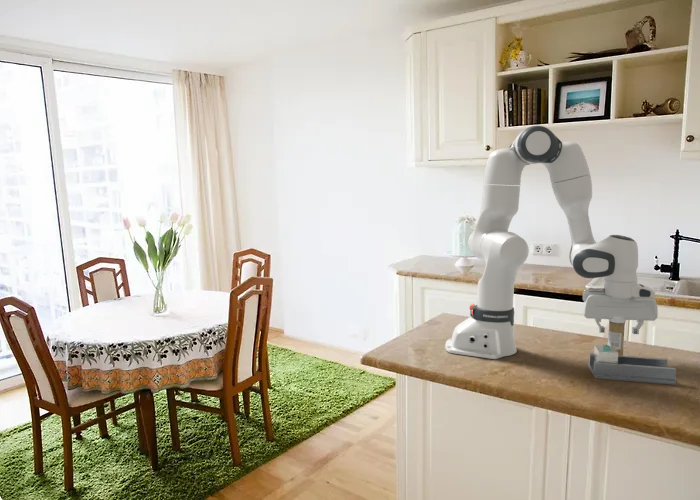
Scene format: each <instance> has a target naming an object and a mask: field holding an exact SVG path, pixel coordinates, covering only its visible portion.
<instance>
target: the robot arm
mask: <svg viewBox="0 0 700 500" xmlns="http://www.w3.org/2000/svg"><path fill="white" fill-rule="evenodd" d="M486 161H487V162H486V165H485V170H484V174H483V185H482V197H481V206H480V212H479V216H478V219H477V223H476V225H475V228H474V230H473V232H472V233H470V235H469V237H468V241H467V246H468V250H469V252H470V253H471V254H472V255H473V256H474V257H475V258H476V259H478V260H480V261H483V262H485V266H484V270H483V274H482V276H481V277H480V278H479V280H478V282H477V296H476V299H477V301H476V302H477V303H476V305H475V303H471V304H470V305H469V311H470V313H469V315H470V316H469V317H467V318H466V319H465V320H463V321H462V322H460V323H459V324H457V325H456V326H455V328H454V329H453V332H452V335H451V336H452V337H449V338H448V339H447V340H446V342H445V343H444V344H445V345H444V349H445V350H446V352H448V353H450V354H456V355H463V356H469V357H478V358H484V359H492V360H499V359H500V358H503V357H509V356H512V355H514V354H516V353H517V352H518V351H517V346H516V341H515V335H514V324H515V308H514V292H515V291H514V290H515V282H516V279H517V274H518V272H519V269H520V267H521V266H522V265H523V264H524V263H525V262H526V261H527V259H528V256H529V246H528V243H527V241H526V240H525V239H524V238H523V237H521V236H519V235H518V234H517V233H515V232H511V231H509V228H510V225H511V221H512V220H513V218H514V216H515V215H517V213H518V212H519V211H518V210H519V204H520V196H521V195H520V192H521V179H522V178H521V177H522V173H523V171H524V168H525V167H526V166H529V165H536V164H541V165H543V166H544V167H545V168H546V170H547V172H548V174H549V179H550V184H551V187H552V191H553V194H554V196H555V199H556V202H557V203H558V205H559V206H560V208H561V209H562V211H563V212H564V215H565V217H566V220H567V225H568V229H569V233H570V238H571V247H570V251H569V263H570V265H572V268H573V270H574V271H575V273H576V274H577V275H578V276H581V278H585V279H597V278H603V277H604V278H603V279H604V280H603V281H604V283H603V287H602V288H601V287H600V288H599V287H598V288H593V287H589V288H587V289H586V290H584V291H583V292H582V301H583V304H582V305H583V306H582V314H583V316H584V318H586V319H589V320H590V319H593V320H594V322H595V323H596V324H597V327H598V328H597V329H598V331H597V332H598V333H599V334H605V332H606V331H605V330H606V327H605V326H604V325H601V323H602V320H609V319H613V317H624V319H625V320H626V321H636V323H637V324H636V325H635V326H632V331H631V334H633V335H639V334H640V329H641V328H642V327H643V325H644V323H645V322H644V321H649V322H650V321H652V322H655V321H656V320H657V319H658V315H659V314H658V302H657V301H656V299H655V294H656V292H655V290H654V289H653V288H651V287H649V286H648V285H644V284H641V283H639V282H638V276H637V269H638V267H639V248H638V243H637V242H636V240H634V239H633V238H632V237H629V236H624V235H620V234H610V235H609V236H607V237H606V238H604V239H603V240H600V241H598V242H597V241H596V240H595V239H594V236H593V231H592V227H591V226H592V225H591V222H590V216H589V207H590V202H591V201H592V198H593V183H592V176H591V172H590V168H589V165H588V161H587V159H586V156H585V154H584V151H583V149H582V148H581V146H580V145H579V144H578V143H577V142H575V141H563V142H562V141H561V140H560V138H558V136H557V135H555V133H554V132H553V131H552V130H551V129H549V128H548V127H547V126H544V125H531V126H529V127H527V128H524V129H522V130H520V132H519V133H518V134H517V135H516V137H514V139H513V140H512V143H510V145H509V147H507V148H503V147H502V148H499V149H498V148H497V149H496V150H492V152H491V153H490V154H489V156H488V158H487V160H486Z"/></svg>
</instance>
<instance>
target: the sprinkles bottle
mask: <svg viewBox="0 0 700 500" xmlns="http://www.w3.org/2000/svg"><path fill="white" fill-rule="evenodd" d="M626 321H627V320H625V319H624V317H613V319H608V322H609V323H608V336H607V345H609V346H614V348H615V349H616V350H617V352H618V355H622V356H624V348H625V347H624V346H625V325H626Z"/></svg>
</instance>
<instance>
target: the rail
mask: <svg viewBox="0 0 700 500" xmlns="http://www.w3.org/2000/svg"><path fill="white" fill-rule="evenodd" d="M593 348H594V351H593V353H591V352H590V353H589V355H588V364H587V365H588V366H587V367H588V368H589V370H590V372H591V373H592V376H593V378H594V379H600V380H611V381H612V380H613V381H614V380H615V381H627V382H636V383H650V384H660V385H663V384H664V385H672V386H673V385H675V386H677V380H676V377H677V369H676V367H668V359H667V358H665V357H664V358H663V357H662V358H661V357H648V356H633V355H623V356H622V355H618V352H617V350H616V349H615V348H614V346H609V345H608V344H602V345H601V344H600V345H599V344H594V347H593Z"/></svg>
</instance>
